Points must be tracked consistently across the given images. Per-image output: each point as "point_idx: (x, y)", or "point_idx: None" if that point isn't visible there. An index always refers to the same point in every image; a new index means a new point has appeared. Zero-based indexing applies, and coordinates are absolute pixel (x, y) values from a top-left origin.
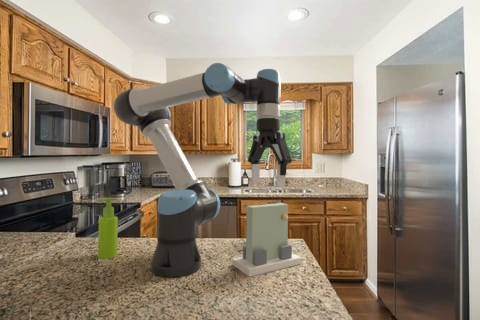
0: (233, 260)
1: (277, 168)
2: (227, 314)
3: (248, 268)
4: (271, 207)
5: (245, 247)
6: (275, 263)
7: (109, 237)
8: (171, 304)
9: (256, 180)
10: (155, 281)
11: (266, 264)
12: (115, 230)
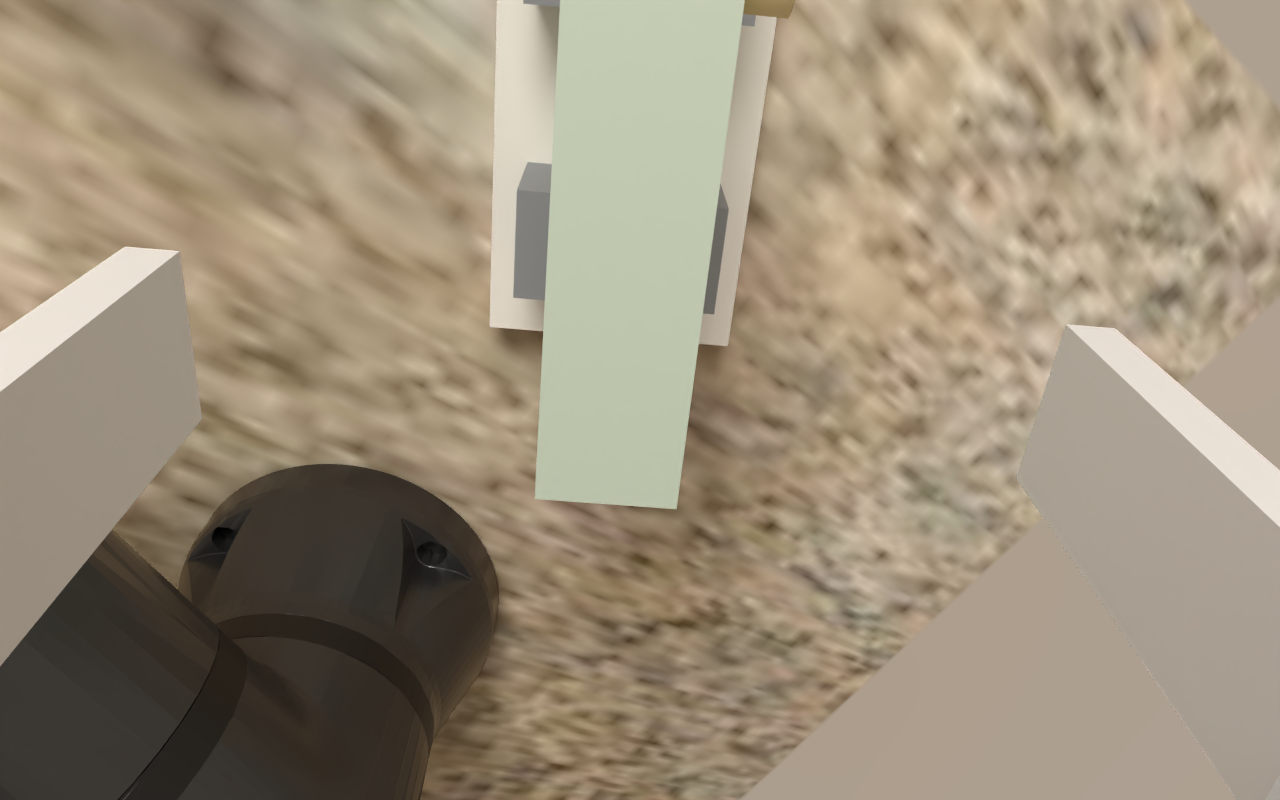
0: (506, 325)
1: (1217, 737)
2: (944, 601)
3: (706, 339)
4: (712, 221)
5: None
6: (759, 117)
7: None
8: (730, 720)
9: (164, 358)
10: (482, 710)
11: (729, 189)
12: None
